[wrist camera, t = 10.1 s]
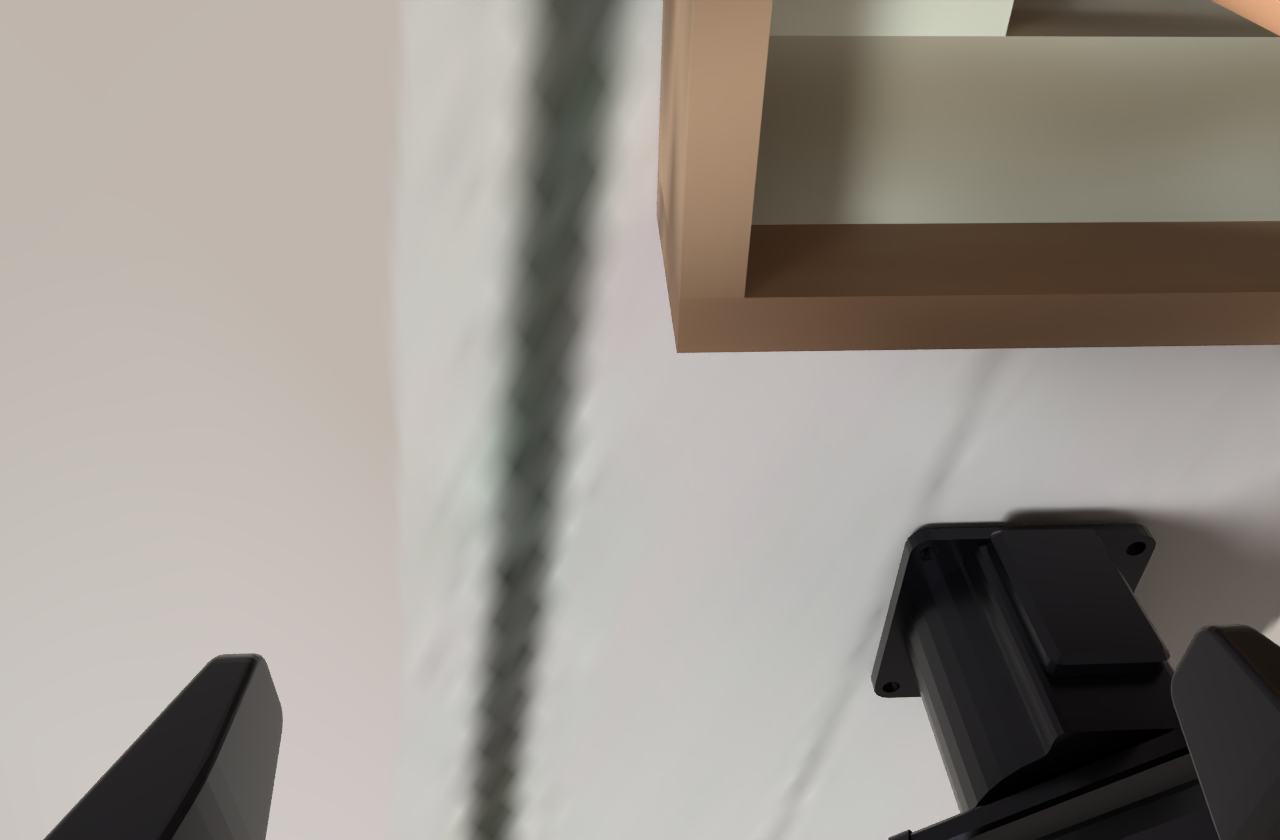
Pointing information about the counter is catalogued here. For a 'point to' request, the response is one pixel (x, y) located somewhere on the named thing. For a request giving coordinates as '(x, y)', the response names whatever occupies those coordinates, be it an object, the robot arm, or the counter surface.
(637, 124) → the counter surface
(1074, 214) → the bore box
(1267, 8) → the peg
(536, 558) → the counter surface
